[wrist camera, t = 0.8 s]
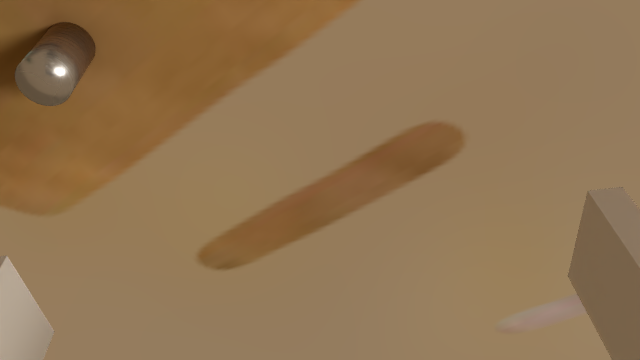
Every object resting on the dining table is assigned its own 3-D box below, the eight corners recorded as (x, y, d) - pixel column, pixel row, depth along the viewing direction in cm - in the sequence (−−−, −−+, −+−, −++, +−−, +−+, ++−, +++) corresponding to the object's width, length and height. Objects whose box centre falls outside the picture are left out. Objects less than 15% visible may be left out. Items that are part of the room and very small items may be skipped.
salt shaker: (38, 24, 35) (5, 59, 31) (86, 20, 35) (60, 55, 31) (55, 69, 37) (26, 108, 33) (101, 65, 37) (79, 103, 33)
